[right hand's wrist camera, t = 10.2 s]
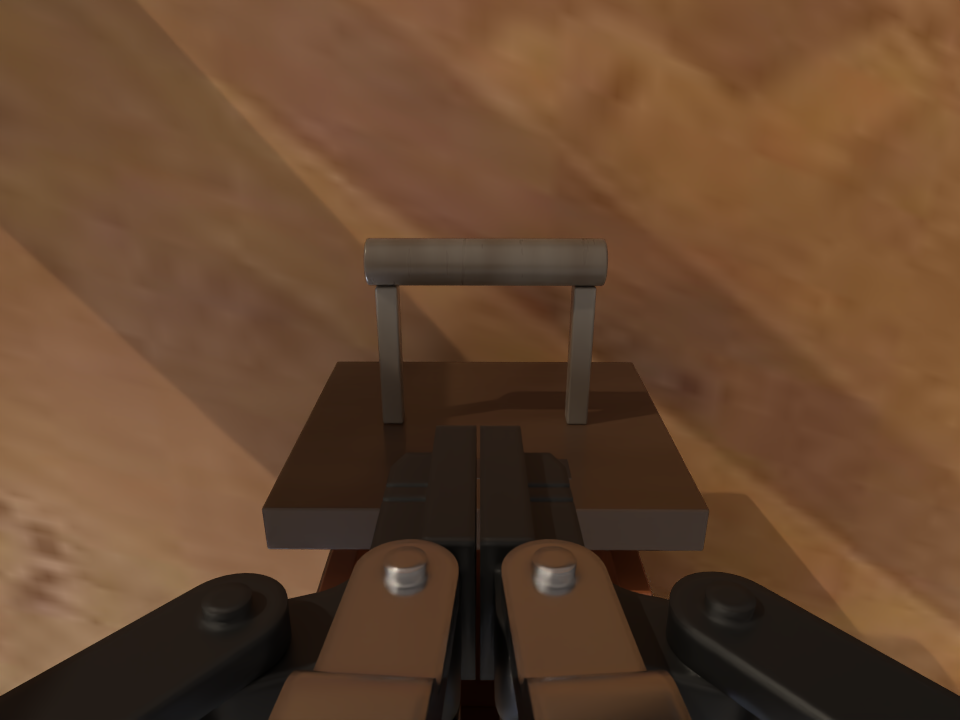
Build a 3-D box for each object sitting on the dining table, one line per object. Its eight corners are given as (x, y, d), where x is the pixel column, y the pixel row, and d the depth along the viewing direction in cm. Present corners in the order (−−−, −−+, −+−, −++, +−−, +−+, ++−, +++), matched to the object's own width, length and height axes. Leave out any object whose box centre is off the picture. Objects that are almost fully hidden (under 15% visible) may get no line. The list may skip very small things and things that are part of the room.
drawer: (323, 208, 23) (228, 287, 14) (646, 209, 22) (744, 287, 14) (365, 694, 31) (321, 925, 22) (601, 695, 31) (645, 927, 22)
